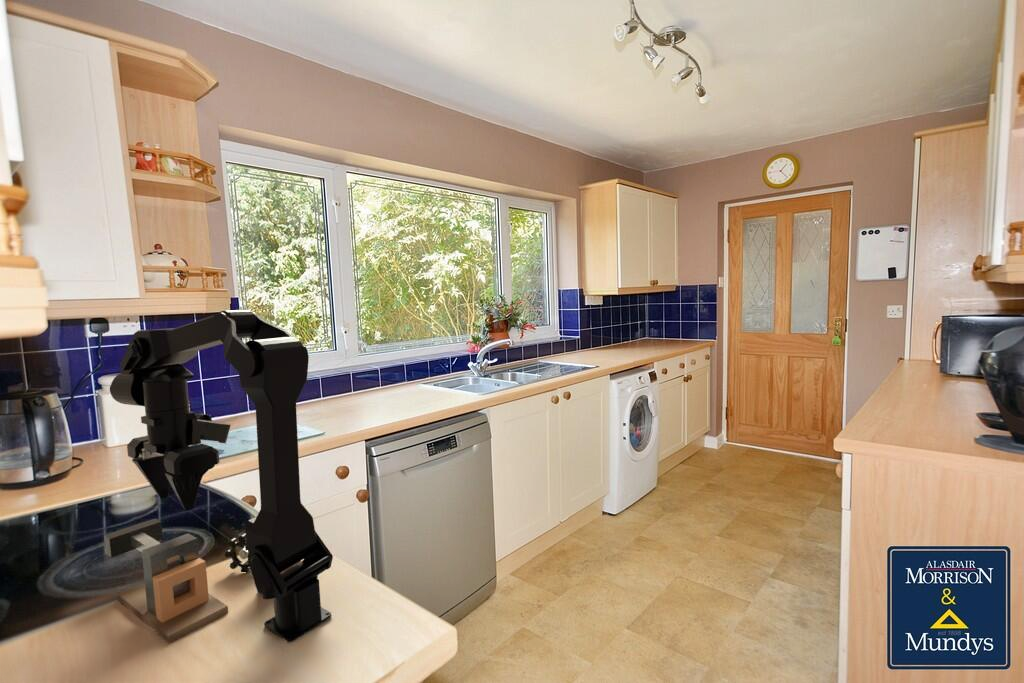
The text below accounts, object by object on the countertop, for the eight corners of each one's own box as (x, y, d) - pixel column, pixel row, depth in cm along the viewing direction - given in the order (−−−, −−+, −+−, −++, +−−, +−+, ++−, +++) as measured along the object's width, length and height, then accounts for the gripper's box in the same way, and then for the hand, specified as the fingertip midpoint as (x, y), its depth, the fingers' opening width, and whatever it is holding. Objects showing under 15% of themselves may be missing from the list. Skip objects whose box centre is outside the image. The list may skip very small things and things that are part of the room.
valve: (270, 539, 94) (225, 573, 82) (267, 505, 94) (222, 535, 82) (302, 540, 93) (262, 575, 81) (299, 506, 93) (259, 536, 81)
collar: (208, 600, 73) (205, 561, 72) (162, 622, 68) (158, 581, 68) (202, 595, 74) (199, 557, 74) (156, 617, 69) (152, 576, 69)
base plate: (228, 612, 72) (227, 605, 71) (168, 643, 65) (167, 636, 65) (174, 576, 82) (173, 570, 82) (118, 600, 75) (117, 593, 75)
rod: (199, 560, 75) (198, 541, 74) (145, 583, 69) (143, 562, 69) (156, 535, 84) (155, 518, 83) (105, 553, 78) (103, 535, 78)
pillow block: (202, 595, 74) (197, 538, 73) (156, 617, 69) (150, 556, 68) (193, 589, 76) (188, 533, 75) (147, 610, 71) (141, 550, 70)
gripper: (249, 403, 79) (256, 498, 80) (196, 394, 90) (203, 477, 91) (170, 418, 70) (180, 524, 71) (121, 406, 81) (131, 498, 82)
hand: (176, 503), depth 79 cm, fingers open, 9 cm apart
